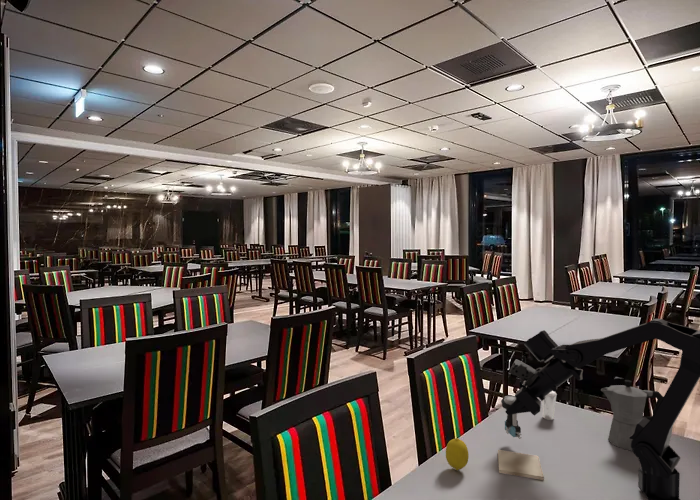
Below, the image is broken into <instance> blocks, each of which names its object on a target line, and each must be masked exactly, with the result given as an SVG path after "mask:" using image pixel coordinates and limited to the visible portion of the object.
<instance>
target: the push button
mask: <svg viewBox="0 0 700 500" xmlns="http://www.w3.org/2000/svg"><path fill="white" fill-rule="evenodd" d="M515 399H516V397H515V395H505V396H504V397H503V398H501V401H500V403H501V407H502V408H503V409H504V410H505V411H506V410H507V409H508V407H509V406H510V405H511V404H512V403H513V402H514V401H515ZM517 415H518V413H517V414H511V415H507V414H506V420H505V421H504V430H505V431H506V432H505V433H506V434H507V435H510V436H511V437H512V438H517V439H519V440H522V437H521V436H522V434H521V433H522V431H521V430H522V428H521V426H519V421H518V418H517V417H518V416H517Z"/></svg>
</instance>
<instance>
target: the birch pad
mask: <svg viewBox="0 0 700 500" xmlns="http://www.w3.org/2000/svg"><path fill="white" fill-rule="evenodd" d="M539 457H540V456H539V455H534V454H528V453H521V452H515V451H510V450H509V451H508V450H501V449H498V450H497V459H498V460H497V461H498V472H499V474H505V475H512V476H517V477H522V478H528V479H535V480H541V481H544V480H545V475H544V473H543V468H542V465H541V461H540V458H539Z"/></svg>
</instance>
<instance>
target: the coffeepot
mask: <svg viewBox="0 0 700 500" xmlns="http://www.w3.org/2000/svg"><path fill="white" fill-rule="evenodd" d="M631 384H632V380H629V379H625V380H624V385H623V384H622V385H621V384H620V385H619V384H618V385H617V384H616V385H612V384H611V385H610V386H609V387H607V386H606V387H602V388H601V389H600V391H601V392H602V393H603V394H604V396H605V397H606V398H607V400H608V402H609V403H610V408H611V409H610V410H611V412H612V413H613V414H612V420H611V425H610V429H609V433H608V434H609V435H608V437H607V441H609V442H610V443H611V444H612V445H613V446H616V447H617V448H620V449H623V450H627V451H631V452H633V450H632V448H631V441H632V440H633V439H630V438H629V437H630V436H631V435H632V434H633V433H634V432H635V428H636V425H637V423H638V422H639V421H640V420H641V419H642V418H643V417H644V411H645V406H646V402H647V399H656V402H655V406H654V408H653V410H652V415H651V416H648V415H646V418H647V419H648V420H651V419H652V417H653V415H654V414H655V412H656V410H657V408H658V406H659V404H660V403H661V401H662V399H663V397H664V395H662V393H660V391H658V390H648V389H644V390H642V389H640V388H638V387H634V386H631Z"/></svg>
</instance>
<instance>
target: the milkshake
mask: <svg viewBox="0 0 700 500" xmlns="http://www.w3.org/2000/svg"><path fill="white" fill-rule="evenodd" d="M557 395H558V394H557V392H556V391H555V392H554V391H552V392H550V393H549V394H548V395H546V396H545V399H544V400H543V401H541V409H542V418H544V419H545V420H546V421H547V420H548V421H553V420H554V418H555V408H556V401H557Z"/></svg>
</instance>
